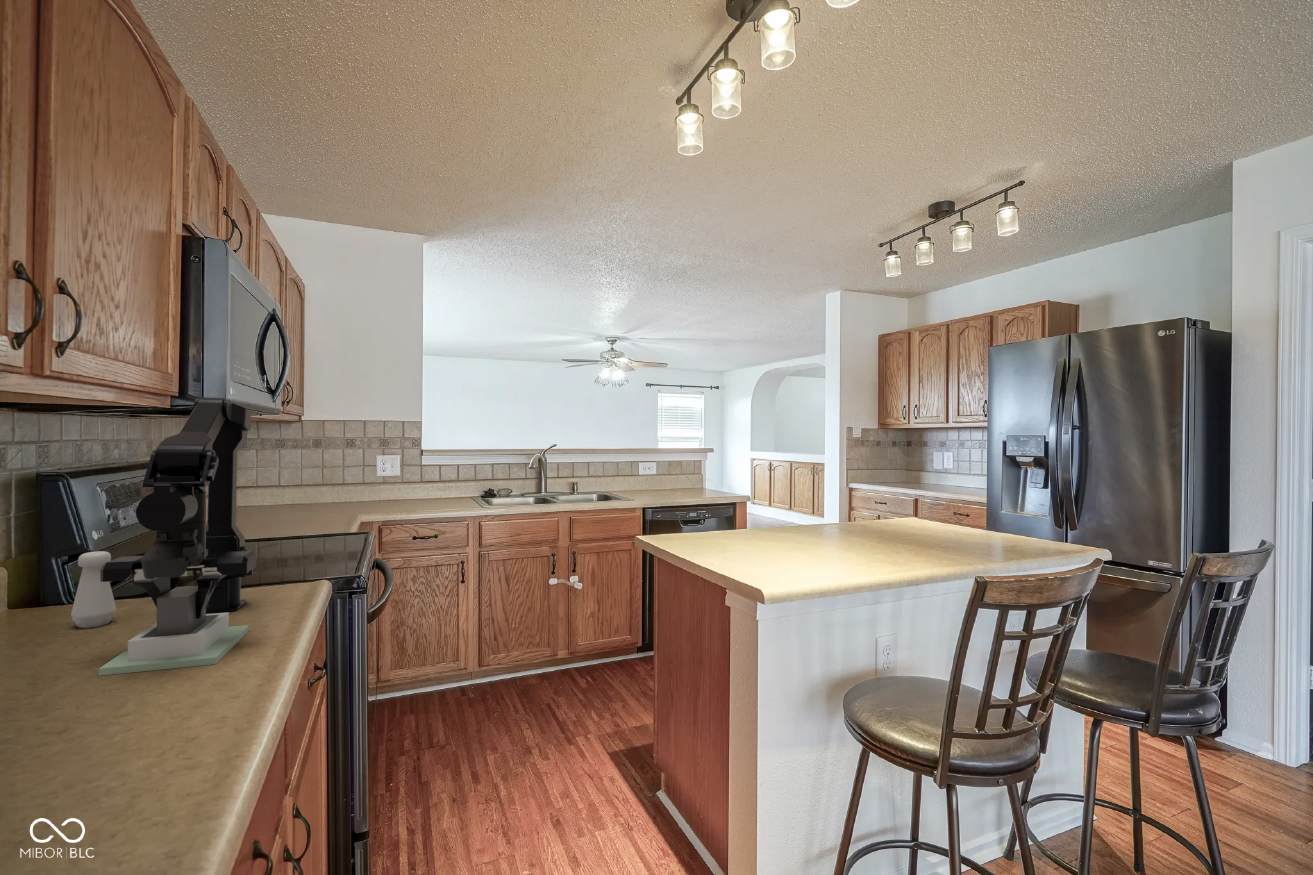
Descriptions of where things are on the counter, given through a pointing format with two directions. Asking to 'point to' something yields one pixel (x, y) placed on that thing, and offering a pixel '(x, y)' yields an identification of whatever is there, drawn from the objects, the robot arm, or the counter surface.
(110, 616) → the salt shaker
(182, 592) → the chute block
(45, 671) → the counter surface
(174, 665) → the deck plate
